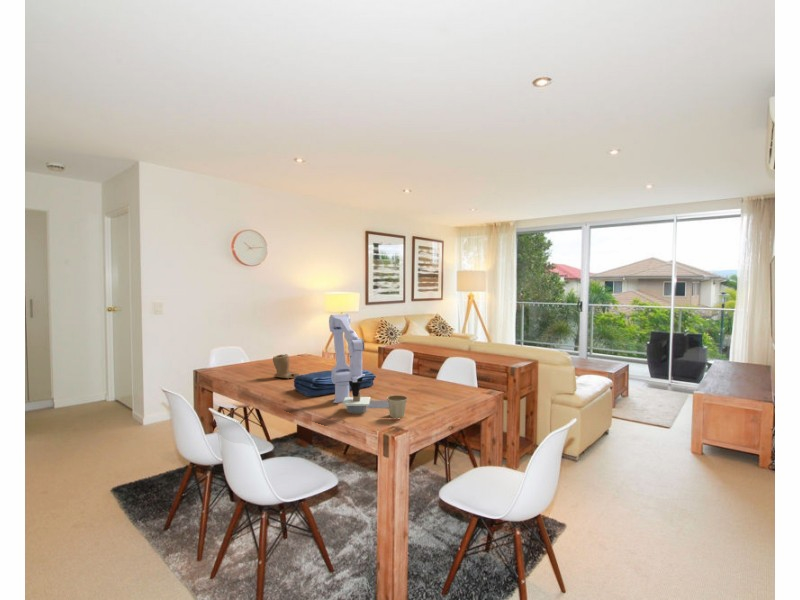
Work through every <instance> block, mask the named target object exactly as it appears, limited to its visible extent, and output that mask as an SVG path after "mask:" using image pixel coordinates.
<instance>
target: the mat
mask: <svg viewBox="0 0 800 600" xmlns="http://www.w3.org/2000/svg"><path fill="white" fill-rule="evenodd" d="M366 409H389V403H388V400H370V403H369V406H366Z"/></svg>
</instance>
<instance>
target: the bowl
mask: <svg viewBox="0 0 800 600" xmlns="http://www.w3.org/2000/svg"><path fill="white" fill-rule="evenodd" d="M346 412H347V413H349V414H363V413H365V412H367V406H346Z"/></svg>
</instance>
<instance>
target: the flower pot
mask: <svg viewBox="0 0 800 600" xmlns="http://www.w3.org/2000/svg"><path fill="white" fill-rule="evenodd" d="M386 401H388V403H389V408H388V410H389V417H390V418H392V419H394V418H395V419H396V420H397V419H398V418H399V419H402V418H403V417H404V416H405V413H406V412H405V410H406V403H407V402H408V397H407V396H405V395H402V394H401V395H398V394H395V395H390V396H387V397H386ZM399 419H398V420H399Z"/></svg>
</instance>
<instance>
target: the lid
mask: <svg viewBox="0 0 800 600" xmlns="http://www.w3.org/2000/svg"><path fill="white" fill-rule="evenodd" d="M370 401H371V396H361V390H360V391H359V394H358V397H353V396H349V397H345V399H344V401H343V402H341V403H342V404H341V405H342V407H347V406H366V407H367V406H369V403H370Z"/></svg>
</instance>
